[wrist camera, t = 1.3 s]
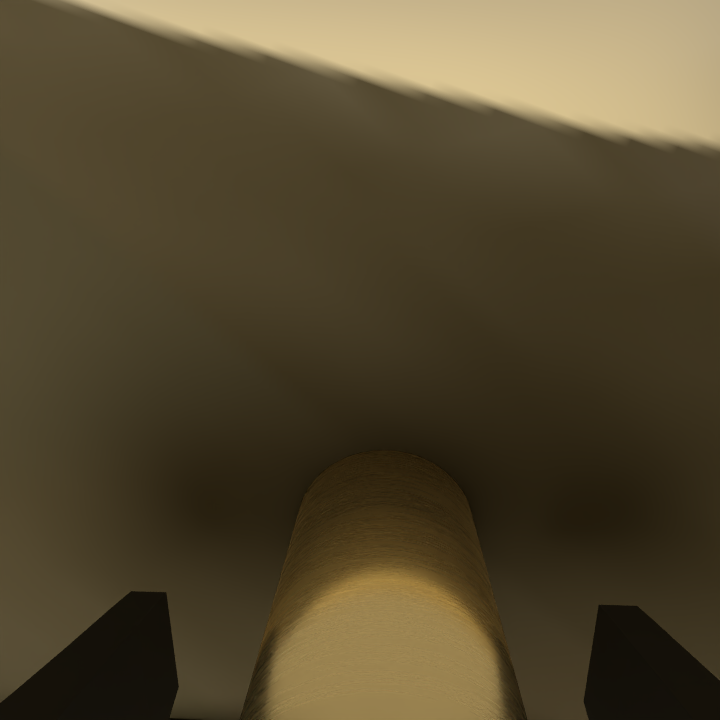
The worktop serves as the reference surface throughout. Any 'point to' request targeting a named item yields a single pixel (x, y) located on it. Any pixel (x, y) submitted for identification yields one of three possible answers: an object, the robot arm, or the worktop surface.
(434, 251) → the worktop surface
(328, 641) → the cylinder
